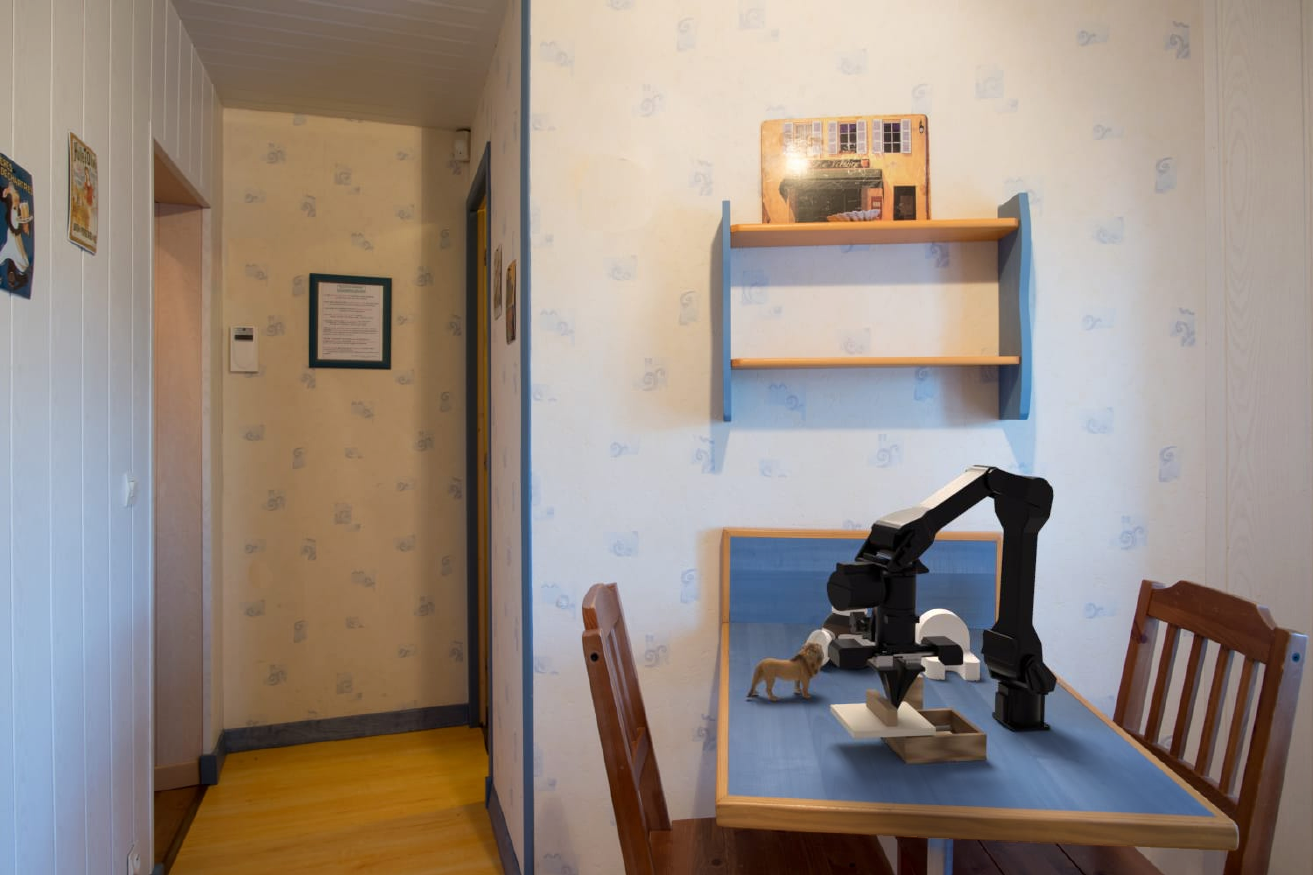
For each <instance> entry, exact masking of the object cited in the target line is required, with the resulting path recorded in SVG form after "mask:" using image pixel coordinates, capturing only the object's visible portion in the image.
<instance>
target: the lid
mask: <svg viewBox="0 0 1313 875" xmlns="http://www.w3.org/2000/svg"><path fill="white" fill-rule="evenodd" d="M865 692H866V694H865V702H863V703H845V704H844V703H842V704H841V703H840V704H839V703H838V704H830V708H829V710H830V713H831V714H832V715H833V716H834V717H835V718H836V719H837V722H839V723H840V724H841V726H843V728H844V729H846V731H847V732H848V733H849V735H850V736H852V739H870V738H871V739H872V738H873V739H874V738H881V737H899V736H921V735H936V728H935V727H934V726H933V725H932V724H931V723H929V722H928V721H927V720H926V719H925V718H924V717H923V716H921V715H920V714H919V713H918V712H917V711H916V710H915V709H913V708H912V707H911V706H910V705H909V704H908V703H907V702H902V703H901V705H900V707H899V708H898V709H897V708H896V707H894V706H893V705H892V704H891V703H890V702H889V701H888V700H887V697H886V696H884V695H883V694H881V692H880V691H878V690H877V689H876V688H875V689H866V691H865Z"/></svg>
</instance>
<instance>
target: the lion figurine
mask: <svg viewBox="0 0 1313 875" xmlns="http://www.w3.org/2000/svg"><path fill="white" fill-rule="evenodd" d="M801 647H802V649H801V650H799V652H797V654H796V655H794V657H792V658H790V659H776V658H773V657H772V658H770V657H769V658H766V659H763V660H761V661H759V663H758V664H757V665H756V668H755V669H754V672H753V676H752V680H751V686H750V690H749V692H748V694H747V695H746V696H745V698H751V697H752V696H758V695H759V694H760V693H759V691H758V690H756V688H757V687H758V686H759V685H760V684H761V683H762V682H764V681H765V684H766V687H765V692H766V694H767V696H768V697H769V699H770V700H771V701H773V702H774V701H775V702H776V701H779V697H778V695H774V694H773V687H774V685H775V681H776V678H777V679H779V680H780V681H782V682H794V686H793V687H794V690H793V691H794V692H795V693H796V694H802V695H803V697H804V698H805V699H808V698H809V699H811V698H810V697H812V696H811V694H810V693H808V692H809V691H808V690H809V686H810V680H811V679H815V678H816V676H818V675H819V673H820V670H821V668H822V667H823V666H822V662H823V658H824V653H823V650H822V645H820V644H818V643H816V642H808V643H807V642H806V643H804V644H802V645H801ZM800 685H801V686H800Z"/></svg>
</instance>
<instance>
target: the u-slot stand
mask: <svg viewBox="0 0 1313 875" xmlns="http://www.w3.org/2000/svg"><path fill="white" fill-rule="evenodd" d="M929 636H945V637H947V638H949V639H950V640H952V641H954V642H955V643H957V644H959V645H960V647H961V648H962V650H963V653H964V655H963V664H962V665H952V666H944V665H943V664H942V663H941V662H940V661H939V660H938V657H922V660H921V665H923V666H924V667H925V668H926V670H925V672H922V673H923V674H924V675H926V676H925V677H926V678H927V677H928V678H927V679H929V678H930V680H940V679H941V680H945V679H946V671H949V672H950V671H951V672H955V673H958V675H959V676H960V677H961V678H962V679H963V680H964V681H972V682H973V681H975V680H976V681H980V670H981V669H980V668H981V666H980V665H981V660H980V659H978V658H977V657H976V655H974V653H973V652H972V651H970V643H971V642H970V640H971V639H970V631H969V629H968V626H967V625H966V624H965V622H964V621H963V620H962V619H961V618H960V617H959V616H958V615H957V614H955V613H954V612H952V611H951V610H947V609H945V608H934V609H933V608H932V609H930V610H927V611H926V612H924V613H922V614H921V616H920V623H916V637H915V642H916V643H918V644H921V640H922V638H923V637H929Z"/></svg>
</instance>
